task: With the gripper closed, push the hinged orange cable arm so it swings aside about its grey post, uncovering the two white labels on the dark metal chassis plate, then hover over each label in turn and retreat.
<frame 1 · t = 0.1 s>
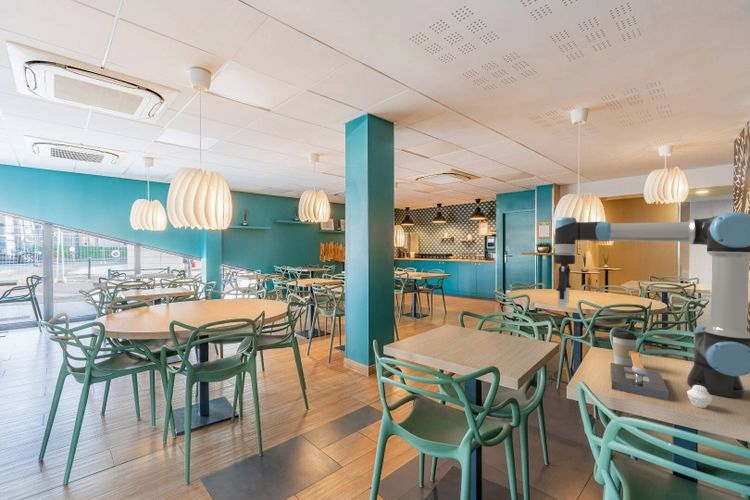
hand: (563, 305, 143), 28 cm above the table, fingers open, 13 cm apart
swing arm: (636, 362, 132), point 8 cm above the table, hinge at 0.0°
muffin: (699, 406, 114), on the table
coffee cup: (623, 365, 152), on the table
chassis: (636, 383, 132), on the table
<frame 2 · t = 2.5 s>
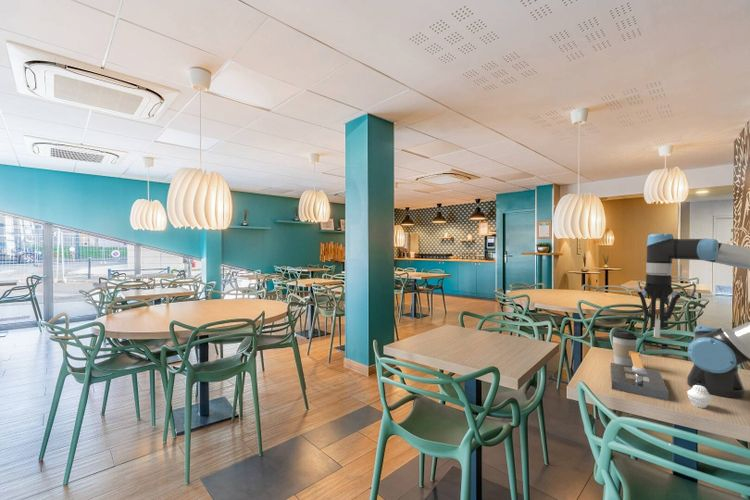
hand: (656, 335, 130), 19 cm above the table, fingers closed
nothing on the table moved.
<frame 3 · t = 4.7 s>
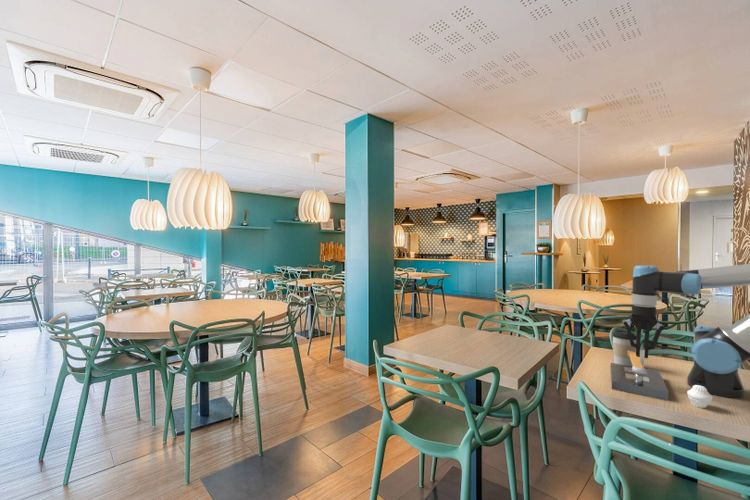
hand: (641, 365, 132), 7 cm above the table, fingers closed
swing arm: (636, 362, 132), point 8 cm above the table, hinge at 1.3°, touching gripper
everything else where it was.
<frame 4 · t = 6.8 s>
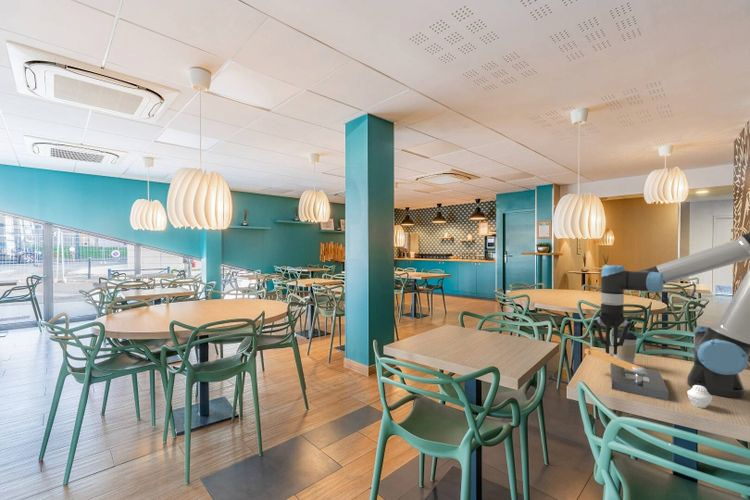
hand: (611, 361, 137), 6 cm above the table, fingers closed
swing arm: (613, 360, 133), point 8 cm above the table, hinge at 45.9°, touching gripper
everything else where it was.
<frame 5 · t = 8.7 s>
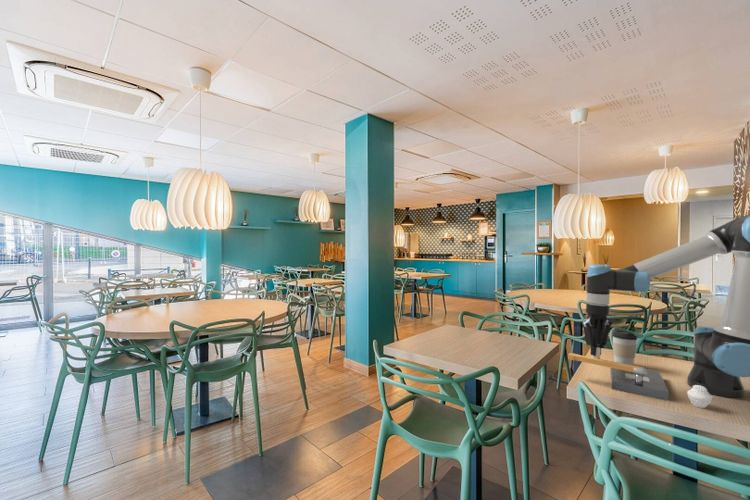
hand: (595, 363, 134), 7 cm above the table, fingers closed
swing arm: (605, 363, 130), point 8 cm above the table, hinge at 82.8°, touching gripper
everything else where it was.
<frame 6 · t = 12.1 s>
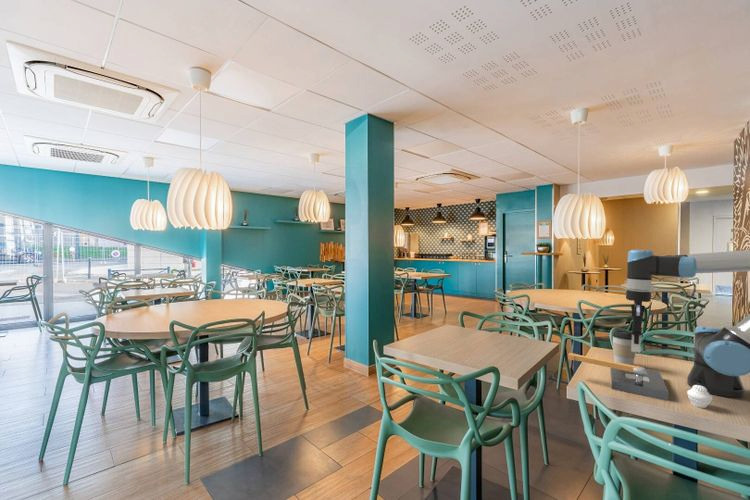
hand: (635, 351, 130), 13 cm above the table, fingers closed
swing arm: (605, 363, 130), point 8 cm above the table, hinge at 82.9°
everything else where it was.
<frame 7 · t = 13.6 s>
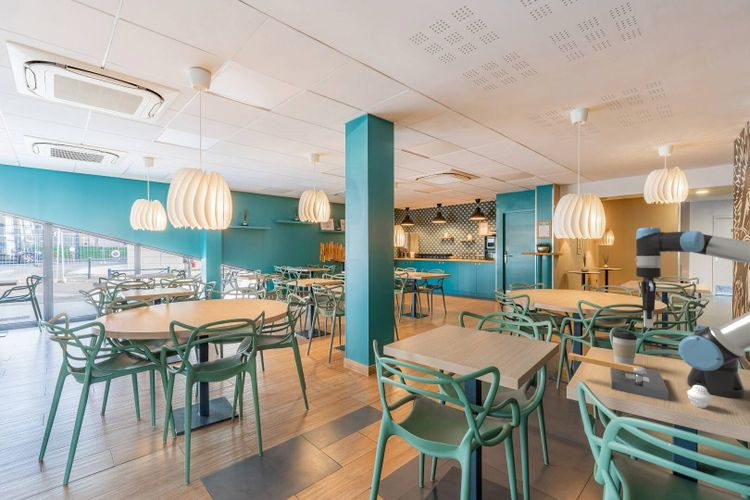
hand: (648, 327, 134), 21 cm above the table, fingers closed
nothing on the table moved.
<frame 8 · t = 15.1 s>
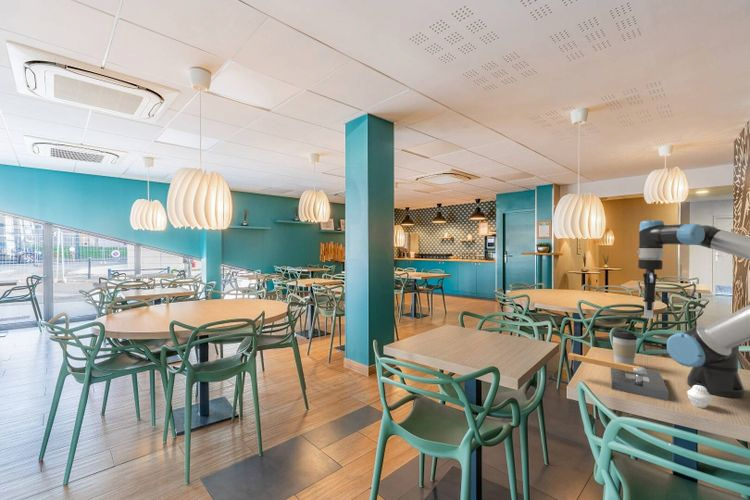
hand: (648, 317, 136), 24 cm above the table, fingers closed
nothing on the table moved.
at the end: swing arm at +83° (first picture: +0°); swing arm touching nothing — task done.
